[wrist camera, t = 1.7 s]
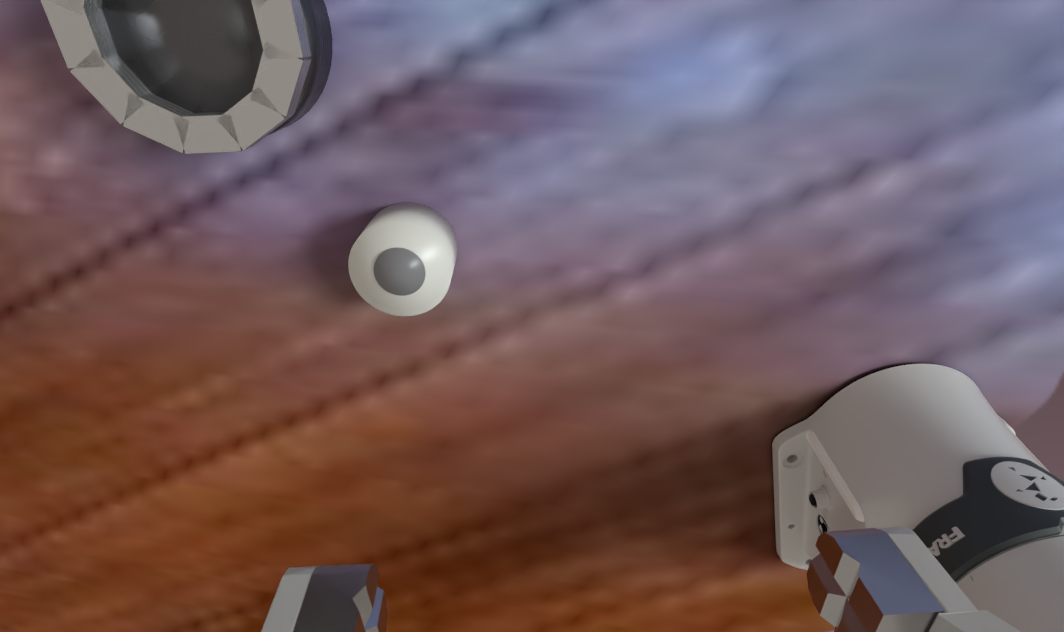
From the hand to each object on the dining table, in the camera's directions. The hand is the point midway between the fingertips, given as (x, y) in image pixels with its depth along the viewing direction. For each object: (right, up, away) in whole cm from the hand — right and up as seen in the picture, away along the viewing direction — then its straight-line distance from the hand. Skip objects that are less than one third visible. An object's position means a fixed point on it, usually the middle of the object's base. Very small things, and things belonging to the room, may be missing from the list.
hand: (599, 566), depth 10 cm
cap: (-9, +9, +26) cm, 29 cm away
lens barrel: (-18, +20, +19) cm, 33 cm away
